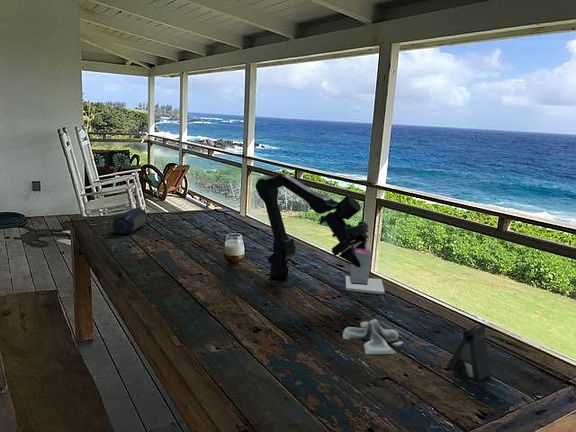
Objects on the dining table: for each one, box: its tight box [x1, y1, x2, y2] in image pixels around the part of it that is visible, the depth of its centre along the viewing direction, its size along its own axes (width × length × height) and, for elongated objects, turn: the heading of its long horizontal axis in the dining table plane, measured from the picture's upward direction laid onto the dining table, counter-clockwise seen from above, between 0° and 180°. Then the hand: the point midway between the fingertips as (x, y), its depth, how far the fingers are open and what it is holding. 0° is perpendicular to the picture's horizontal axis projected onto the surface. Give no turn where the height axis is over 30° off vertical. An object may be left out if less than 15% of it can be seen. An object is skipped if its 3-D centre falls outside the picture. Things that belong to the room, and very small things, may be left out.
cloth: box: [342, 318, 404, 356], centre depth 137 cm, size 22×19×6 cm
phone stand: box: [446, 324, 492, 383], centre depth 121 cm, size 9×6×12 cm, turn 42°
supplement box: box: [349, 248, 372, 285], centre depth 163 cm, size 6×6×12 cm
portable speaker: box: [112, 207, 148, 235], centre depth 238 cm, size 25×10×10 cm, turn 175°
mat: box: [345, 275, 386, 295], centre depth 180 cm, size 14×14×1 cm
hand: (364, 264), depth 162 cm, fingers closed on supplement box, 7 cm apart
